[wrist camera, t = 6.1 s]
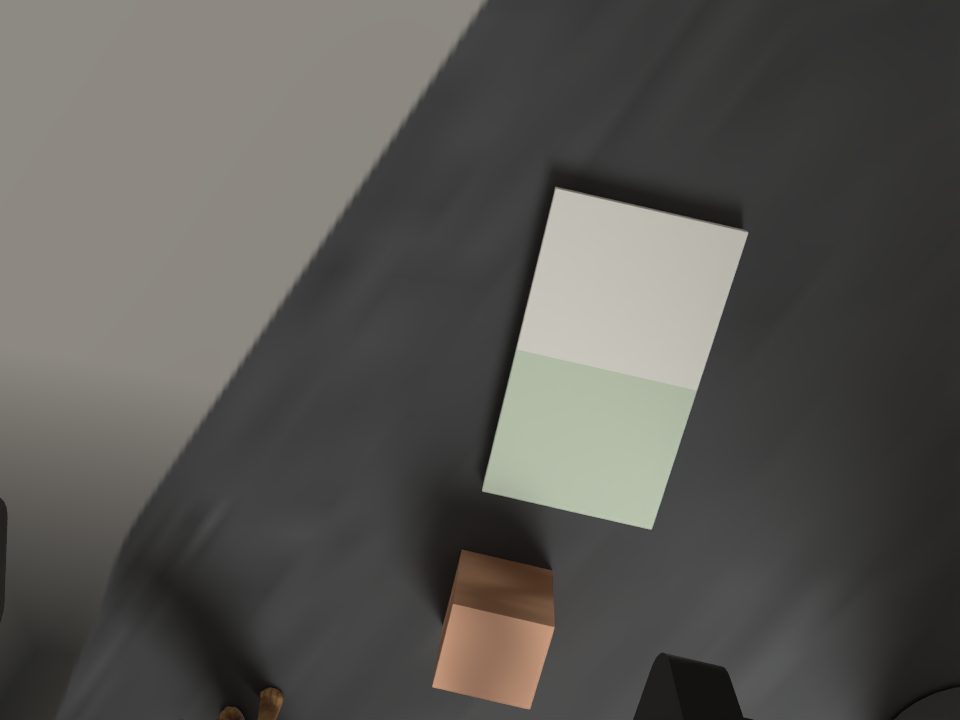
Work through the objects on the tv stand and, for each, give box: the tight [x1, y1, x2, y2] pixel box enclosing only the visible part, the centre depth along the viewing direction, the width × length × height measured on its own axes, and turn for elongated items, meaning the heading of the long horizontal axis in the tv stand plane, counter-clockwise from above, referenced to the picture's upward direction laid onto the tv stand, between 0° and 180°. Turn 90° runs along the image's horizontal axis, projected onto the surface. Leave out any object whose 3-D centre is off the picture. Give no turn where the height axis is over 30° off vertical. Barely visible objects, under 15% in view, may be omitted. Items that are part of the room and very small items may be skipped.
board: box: [482, 187, 748, 530], centre depth 35 cm, size 8×14×1 cm, turn 168°
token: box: [432, 550, 555, 709], centre depth 37 cm, size 4×4×4 cm
